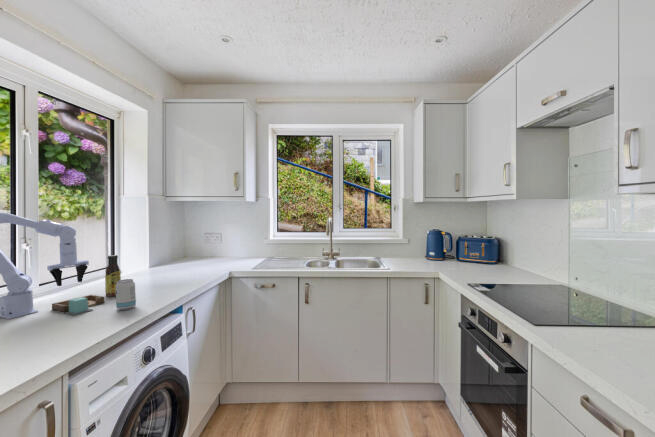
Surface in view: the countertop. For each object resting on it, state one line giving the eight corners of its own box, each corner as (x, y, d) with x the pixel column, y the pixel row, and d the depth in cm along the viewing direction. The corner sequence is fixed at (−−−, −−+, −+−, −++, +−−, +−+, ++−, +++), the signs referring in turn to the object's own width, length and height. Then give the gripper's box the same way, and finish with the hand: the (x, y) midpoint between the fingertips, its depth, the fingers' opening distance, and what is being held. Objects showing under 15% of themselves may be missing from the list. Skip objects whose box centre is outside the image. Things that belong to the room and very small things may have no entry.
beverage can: (119, 307, 133) (117, 279, 132) (137, 305, 135) (136, 278, 135) (114, 312, 126) (113, 283, 126) (133, 309, 129) (132, 281, 128)
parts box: (64, 313, 126) (64, 306, 126) (52, 310, 131) (51, 303, 131) (104, 302, 140) (104, 296, 140) (91, 300, 144) (91, 294, 144)
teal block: (75, 313, 125) (74, 301, 124) (69, 312, 126) (68, 300, 126) (87, 309, 129) (87, 298, 128) (81, 308, 130) (81, 297, 130)
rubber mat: (73, 315, 123) (73, 314, 123) (64, 313, 126) (64, 312, 126) (93, 310, 129) (93, 309, 129) (83, 308, 132) (83, 307, 132)
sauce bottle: (113, 297, 149) (111, 256, 148) (102, 296, 150) (100, 256, 149) (124, 293, 155) (122, 254, 155) (114, 293, 156) (112, 254, 156)
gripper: (52, 256, 127) (54, 288, 128) (92, 251, 141) (93, 280, 141) (44, 255, 130) (45, 287, 131) (83, 250, 144) (84, 279, 144)
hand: (69, 283), depth 136 cm, fingers open, 7 cm apart
